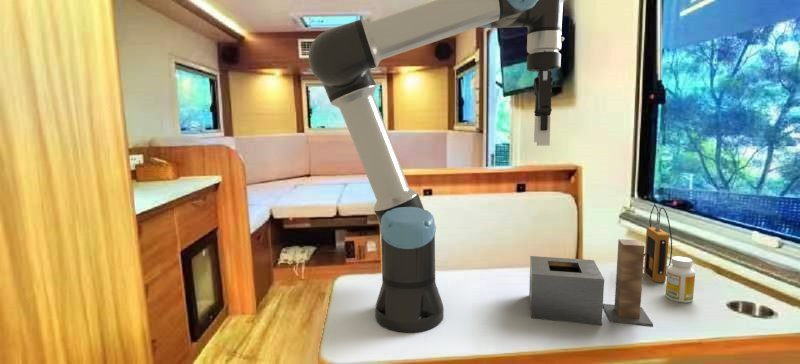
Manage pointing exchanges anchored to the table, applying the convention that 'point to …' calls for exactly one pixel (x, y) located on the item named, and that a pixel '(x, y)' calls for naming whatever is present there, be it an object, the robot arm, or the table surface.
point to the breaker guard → (566, 290)
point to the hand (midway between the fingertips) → (541, 143)
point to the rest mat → (615, 318)
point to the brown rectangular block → (629, 278)
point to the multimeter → (657, 250)
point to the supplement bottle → (680, 280)
